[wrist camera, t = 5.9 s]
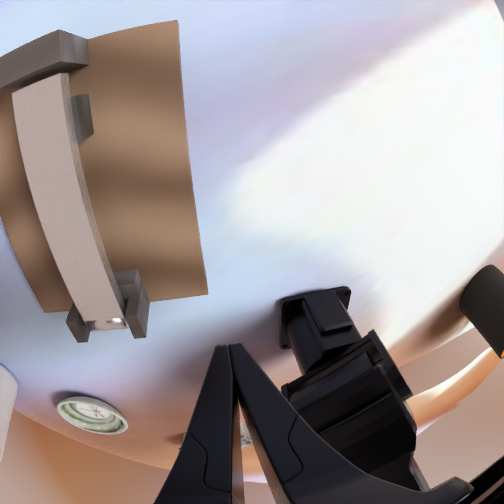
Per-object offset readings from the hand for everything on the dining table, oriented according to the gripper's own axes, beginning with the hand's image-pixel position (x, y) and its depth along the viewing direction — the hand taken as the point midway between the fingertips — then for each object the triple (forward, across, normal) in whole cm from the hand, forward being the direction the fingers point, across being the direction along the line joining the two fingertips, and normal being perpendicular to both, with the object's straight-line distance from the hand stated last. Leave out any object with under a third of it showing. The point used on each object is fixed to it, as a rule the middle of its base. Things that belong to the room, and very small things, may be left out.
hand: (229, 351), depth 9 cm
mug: (+13, -36, +17) cm, 42 cm away
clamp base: (+12, +8, -3) cm, 14 cm away
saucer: (+12, +19, +24) cm, 33 cm away
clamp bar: (+8, +8, -2) cm, 12 cm away
